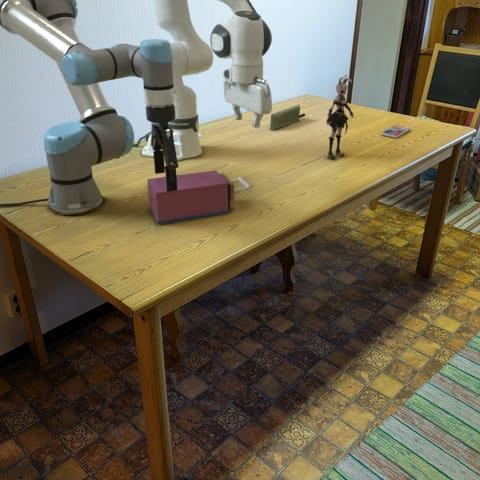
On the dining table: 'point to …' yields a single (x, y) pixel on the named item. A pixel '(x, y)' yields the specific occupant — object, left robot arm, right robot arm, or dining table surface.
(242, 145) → the dining table surface
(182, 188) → the magenta elongated box
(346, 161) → the dining table surface
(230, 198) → the drawer
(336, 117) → the figurine
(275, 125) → the handheld radio
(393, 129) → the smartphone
